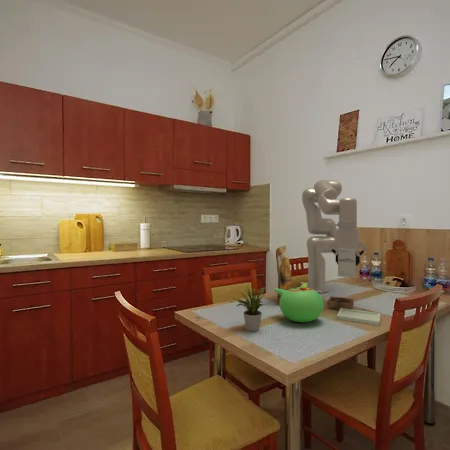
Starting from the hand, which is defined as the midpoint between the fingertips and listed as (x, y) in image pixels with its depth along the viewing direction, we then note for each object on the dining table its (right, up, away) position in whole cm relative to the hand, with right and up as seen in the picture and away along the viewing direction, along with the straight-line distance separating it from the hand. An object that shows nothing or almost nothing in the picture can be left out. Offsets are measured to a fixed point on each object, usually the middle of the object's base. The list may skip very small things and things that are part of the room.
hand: (347, 264), depth 137 cm
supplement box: (0, -6, 0) cm, 6 cm away
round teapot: (-24, -22, -12) cm, 35 cm away
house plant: (-45, -22, -20) cm, 54 cm away
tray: (+1, -22, -9) cm, 23 cm away
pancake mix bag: (-25, -21, +16) cm, 37 cm away
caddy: (-1, -21, +6) cm, 22 cm away
